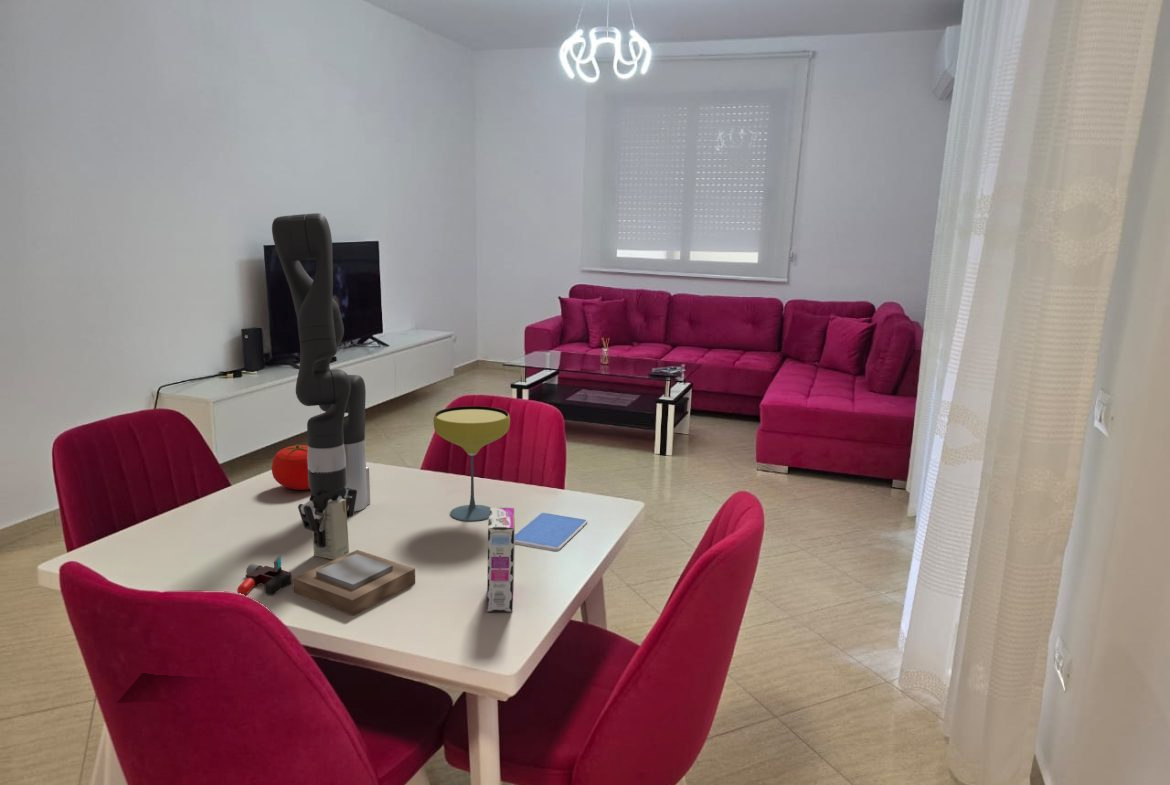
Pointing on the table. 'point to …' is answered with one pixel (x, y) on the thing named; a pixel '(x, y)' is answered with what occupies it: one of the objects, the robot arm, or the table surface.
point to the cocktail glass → (471, 442)
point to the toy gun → (265, 578)
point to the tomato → (291, 467)
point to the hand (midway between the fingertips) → (330, 542)
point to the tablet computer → (549, 531)
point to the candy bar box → (501, 560)
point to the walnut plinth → (354, 581)
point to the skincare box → (334, 532)
